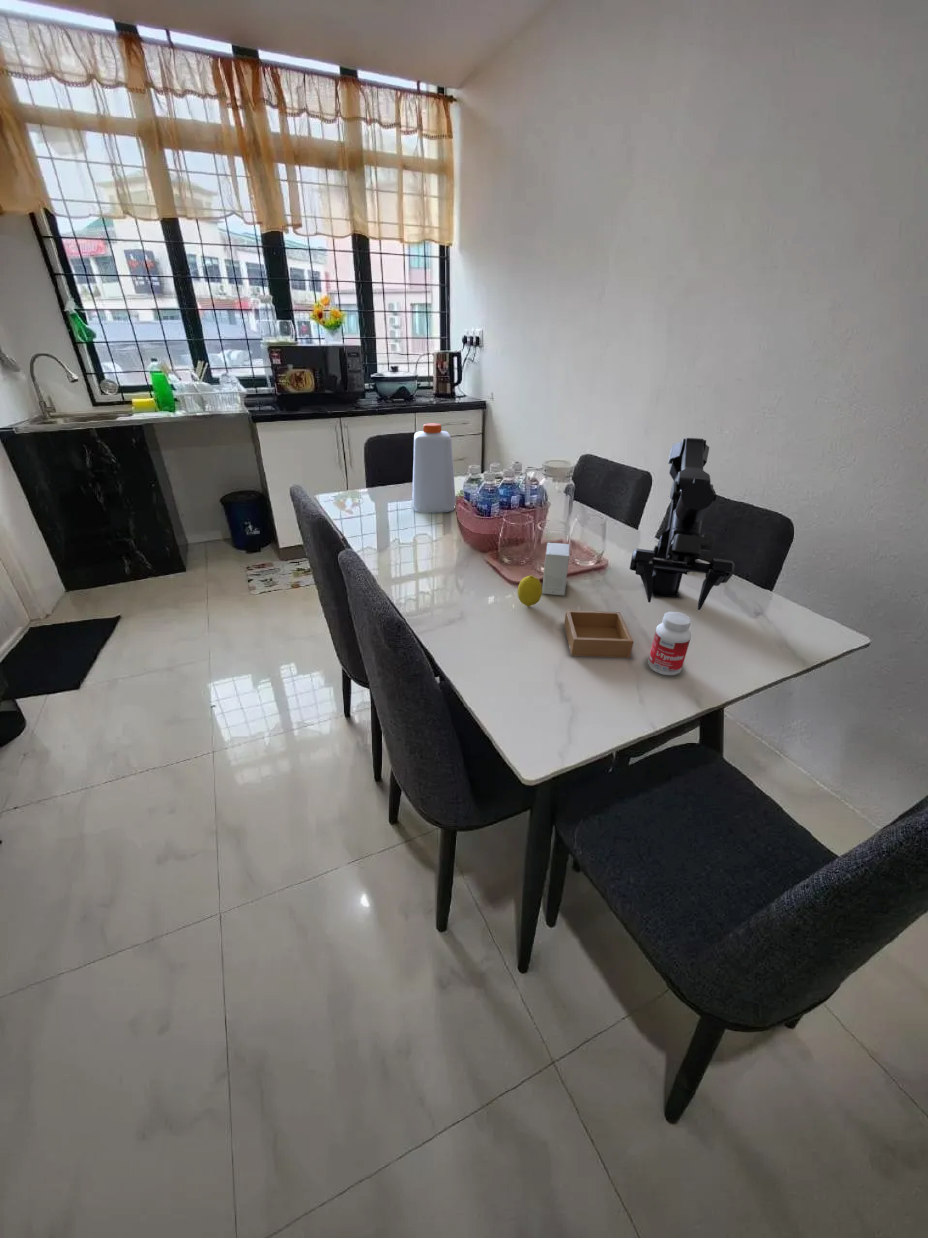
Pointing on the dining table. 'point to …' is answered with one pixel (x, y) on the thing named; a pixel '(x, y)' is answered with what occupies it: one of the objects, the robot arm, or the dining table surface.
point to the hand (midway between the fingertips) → (673, 605)
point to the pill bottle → (670, 644)
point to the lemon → (529, 590)
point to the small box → (556, 568)
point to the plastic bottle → (433, 470)
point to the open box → (597, 634)
